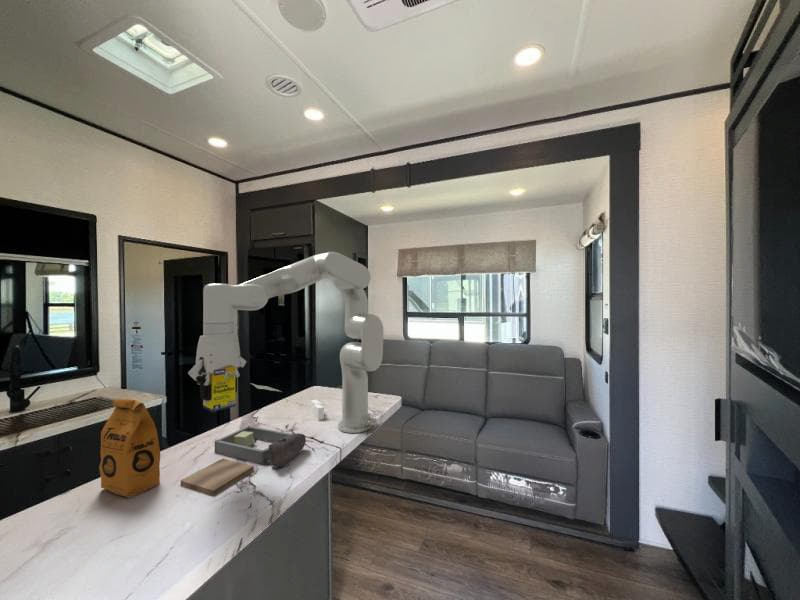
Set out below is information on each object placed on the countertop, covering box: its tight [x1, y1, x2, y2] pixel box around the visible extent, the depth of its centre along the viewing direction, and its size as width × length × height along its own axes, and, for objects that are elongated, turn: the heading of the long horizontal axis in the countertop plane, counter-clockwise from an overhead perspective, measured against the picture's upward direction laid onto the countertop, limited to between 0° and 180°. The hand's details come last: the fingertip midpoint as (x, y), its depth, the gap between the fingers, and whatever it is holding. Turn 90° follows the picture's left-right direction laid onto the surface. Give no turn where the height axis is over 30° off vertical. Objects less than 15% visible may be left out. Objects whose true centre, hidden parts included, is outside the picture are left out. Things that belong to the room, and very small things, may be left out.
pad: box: [180, 458, 255, 497], centre depth 83 cm, size 12×12×1 cm
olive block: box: [234, 431, 254, 447], centre depth 101 cm, size 4×4×4 cm
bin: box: [214, 425, 294, 465], centre depth 99 cm, size 20×13×4 cm, turn 68°
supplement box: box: [202, 366, 236, 413], centre depth 83 cm, size 6×6×11 cm
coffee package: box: [98, 397, 161, 499], centre depth 79 cm, size 10×12×22 cm
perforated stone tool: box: [268, 433, 307, 469], centre depth 92 cm, size 15×5×7 cm, turn 157°
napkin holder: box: [310, 399, 325, 421], centre depth 127 cm, size 15×11×6 cm
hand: (219, 395), depth 83 cm, fingers closed on supplement box, 7 cm apart
